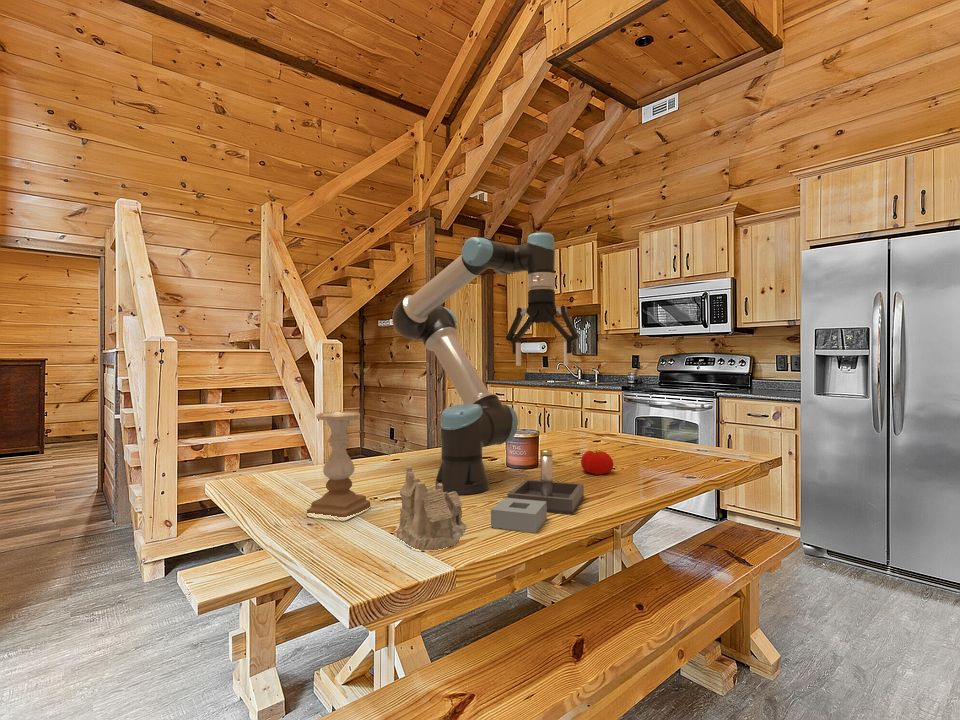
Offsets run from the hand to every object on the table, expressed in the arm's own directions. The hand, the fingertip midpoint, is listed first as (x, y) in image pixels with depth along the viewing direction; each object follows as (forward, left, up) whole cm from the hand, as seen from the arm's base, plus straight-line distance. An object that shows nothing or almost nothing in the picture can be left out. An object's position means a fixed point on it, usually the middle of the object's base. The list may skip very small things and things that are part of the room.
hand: (541, 365), depth 142 cm
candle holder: (-41, -37, -35) cm, 65 cm away
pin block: (+2, -30, -35) cm, 46 cm away
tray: (+4, -12, -35) cm, 37 cm away
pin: (+4, -12, -34) cm, 36 cm away
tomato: (+11, +27, -35) cm, 45 cm away
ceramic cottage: (-12, -43, -35) cm, 57 cm away
